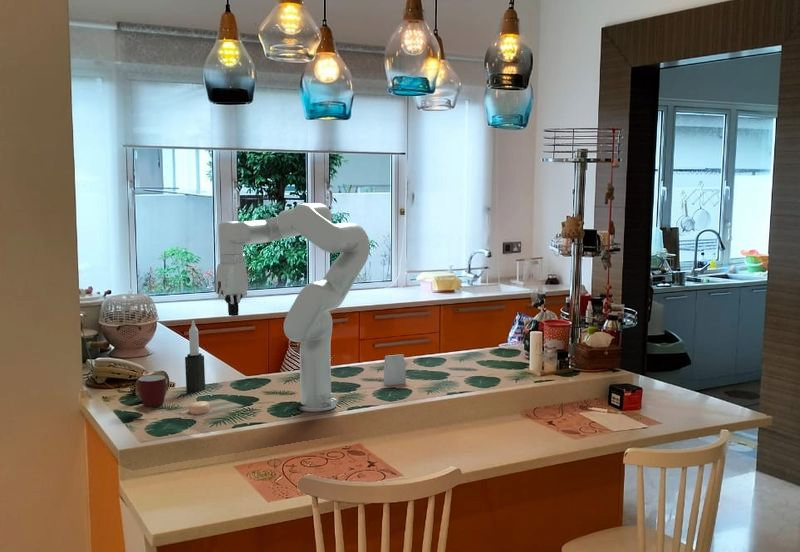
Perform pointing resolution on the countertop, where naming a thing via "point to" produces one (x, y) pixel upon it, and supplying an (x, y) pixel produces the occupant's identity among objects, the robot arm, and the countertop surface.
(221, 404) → the tan piece
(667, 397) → the countertop surface
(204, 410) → the tan round bun
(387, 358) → the grey tall block
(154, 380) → the mug
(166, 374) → the tin
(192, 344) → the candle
